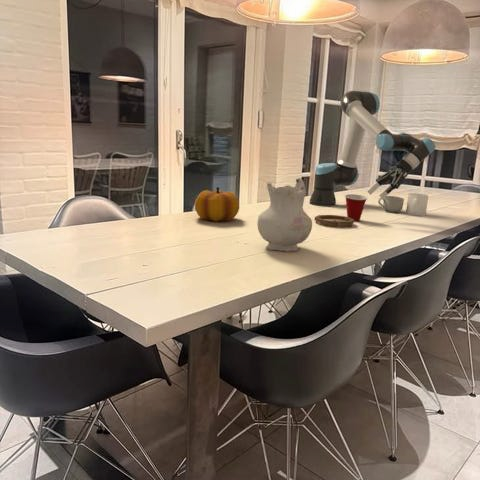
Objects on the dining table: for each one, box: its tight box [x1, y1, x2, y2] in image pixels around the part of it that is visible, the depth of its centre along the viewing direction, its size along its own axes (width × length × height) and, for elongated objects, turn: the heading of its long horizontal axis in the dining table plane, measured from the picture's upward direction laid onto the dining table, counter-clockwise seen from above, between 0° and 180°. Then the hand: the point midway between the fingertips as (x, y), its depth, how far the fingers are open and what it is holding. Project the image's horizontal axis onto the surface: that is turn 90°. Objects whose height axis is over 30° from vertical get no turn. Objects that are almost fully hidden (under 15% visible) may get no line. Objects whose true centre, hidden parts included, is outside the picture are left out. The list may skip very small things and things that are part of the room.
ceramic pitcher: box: [256, 177, 313, 253], centre depth 172 cm, size 22×20×25 cm
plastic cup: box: [344, 193, 368, 222], centre depth 232 cm, size 11×11×12 cm
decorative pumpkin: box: [194, 186, 240, 223], centre depth 218 cm, size 20×22×15 cm
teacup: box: [377, 195, 405, 214], centre depth 264 cm, size 14×11×8 cm
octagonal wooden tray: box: [314, 214, 355, 229], centre depth 222 cm, size 17×17×4 cm
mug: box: [405, 192, 429, 217], centre depth 258 cm, size 14×10×11 cm
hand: (374, 194), depth 231 cm, fingers open, 13 cm apart
